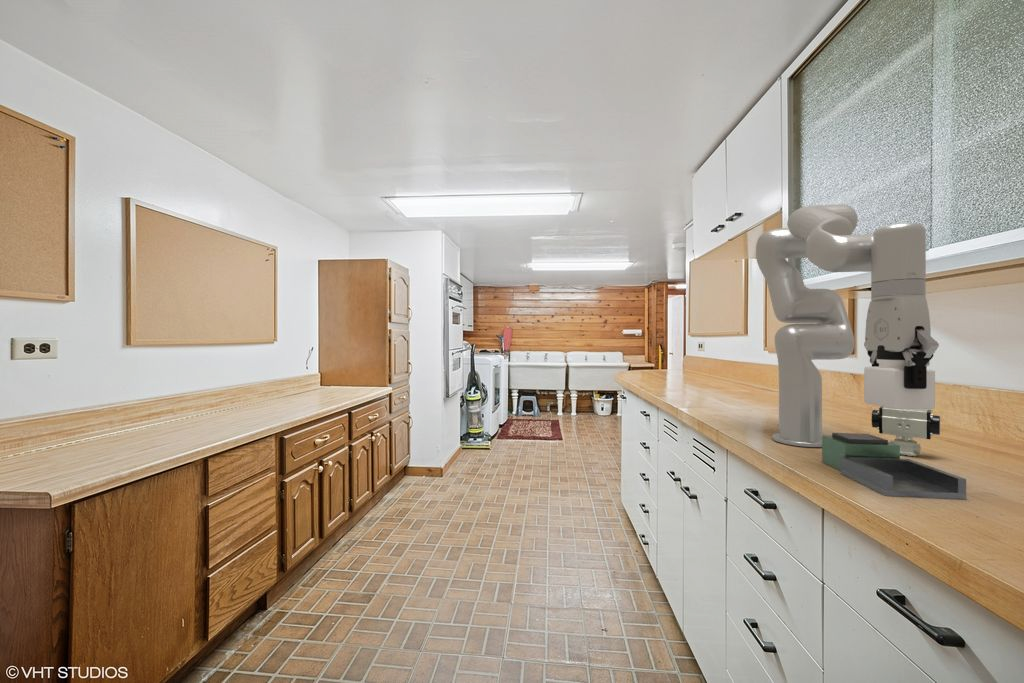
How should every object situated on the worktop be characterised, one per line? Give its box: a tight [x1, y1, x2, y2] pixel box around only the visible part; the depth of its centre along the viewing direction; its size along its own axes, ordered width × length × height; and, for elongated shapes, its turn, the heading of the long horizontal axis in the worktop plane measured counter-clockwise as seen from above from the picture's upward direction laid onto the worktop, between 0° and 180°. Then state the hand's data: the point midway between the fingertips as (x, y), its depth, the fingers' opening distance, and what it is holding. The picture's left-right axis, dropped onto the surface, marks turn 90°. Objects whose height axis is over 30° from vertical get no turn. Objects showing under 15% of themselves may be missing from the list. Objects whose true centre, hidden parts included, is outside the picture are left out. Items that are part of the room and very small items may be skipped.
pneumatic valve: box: [871, 406, 941, 457], centre depth 100 cm, size 6×12×12 cm, turn 43°
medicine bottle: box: [863, 345, 936, 410], centre depth 79 cm, size 7×7×12 cm
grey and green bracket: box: [821, 432, 967, 500], centre depth 83 cm, size 21×12×7 cm, turn 172°
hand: (897, 385), depth 79 cm, fingers closed on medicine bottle, 7 cm apart
